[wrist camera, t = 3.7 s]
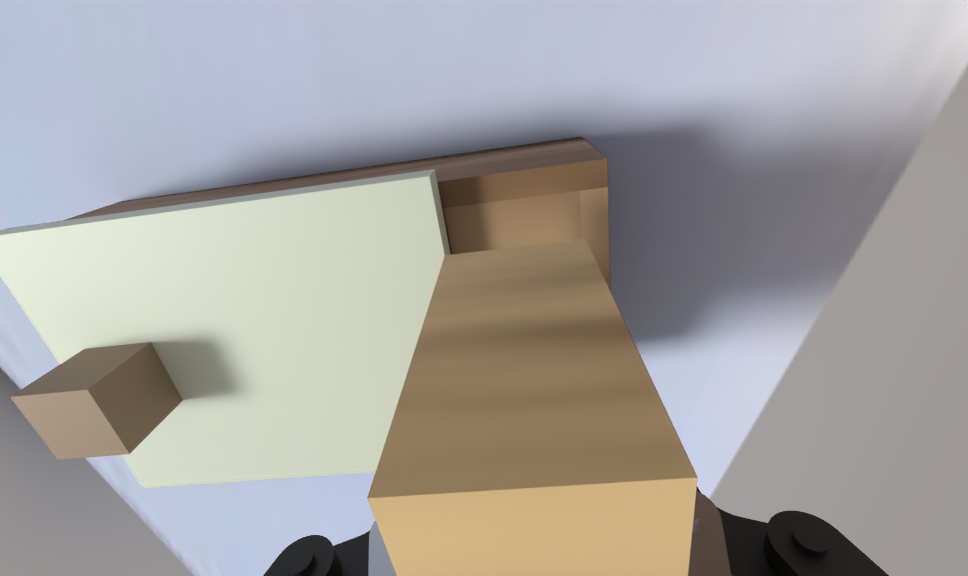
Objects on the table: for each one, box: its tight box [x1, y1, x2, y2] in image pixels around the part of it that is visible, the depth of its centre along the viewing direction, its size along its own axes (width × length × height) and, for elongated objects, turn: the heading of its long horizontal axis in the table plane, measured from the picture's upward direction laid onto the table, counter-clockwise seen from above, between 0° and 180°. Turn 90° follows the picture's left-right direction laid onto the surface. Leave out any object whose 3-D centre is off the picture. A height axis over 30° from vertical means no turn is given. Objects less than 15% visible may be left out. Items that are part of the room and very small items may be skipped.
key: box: [367, 239, 698, 576], centre depth 11 cm, size 9×4×8 cm, turn 8°
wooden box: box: [63, 137, 610, 290], centre depth 22 cm, size 12×24×6 cm, turn 98°
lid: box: [0, 169, 451, 488], centre depth 17 cm, size 13×17×4 cm
